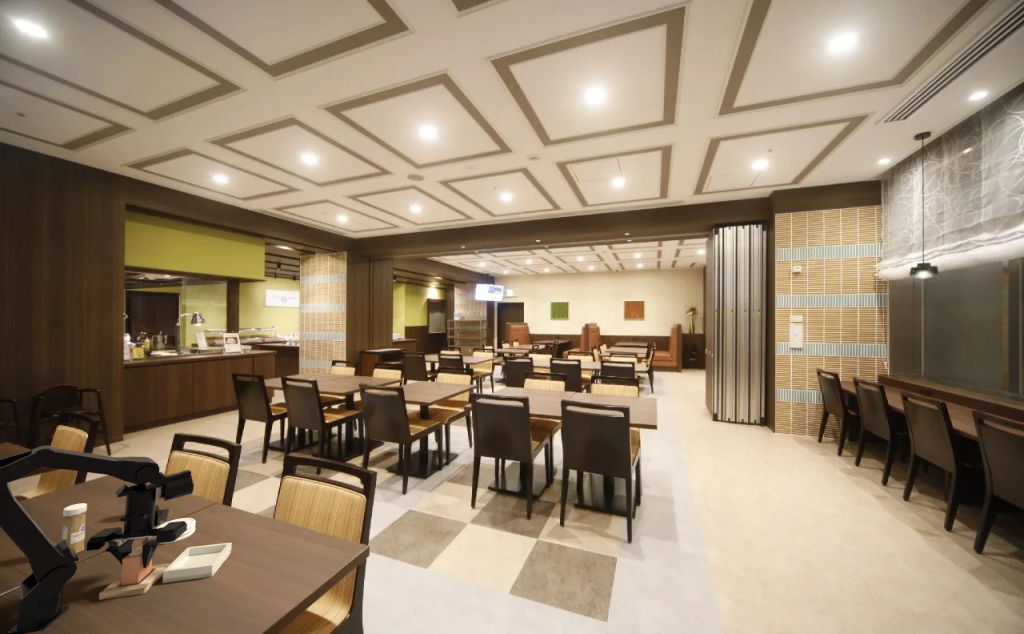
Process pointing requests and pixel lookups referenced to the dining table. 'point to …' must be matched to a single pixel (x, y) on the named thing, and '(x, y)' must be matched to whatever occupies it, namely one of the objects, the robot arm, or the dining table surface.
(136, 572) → the block
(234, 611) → the dining table surface
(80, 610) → the dining table surface
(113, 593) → the holder
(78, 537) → the sprinkles bottle
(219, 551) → the tray
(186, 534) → the coaster
